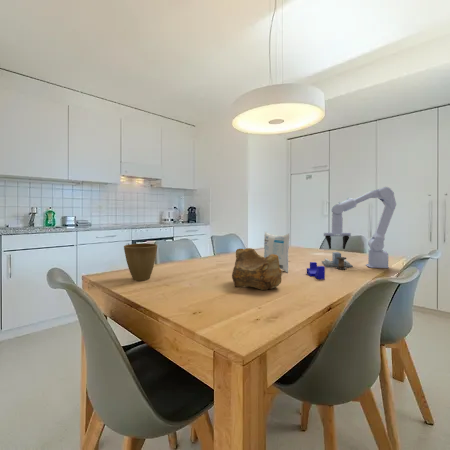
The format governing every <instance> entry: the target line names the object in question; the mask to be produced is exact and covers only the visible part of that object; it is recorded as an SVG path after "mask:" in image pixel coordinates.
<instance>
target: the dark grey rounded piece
mask: <svg viewBox="0 0 450 450" xmlns="http://www.w3.org/2000/svg"><path fill="white" fill-rule="evenodd" d="M336 259H339V266H338V267H335V268H336V270H342V269H343V270H344V269H345V270H347V267H344V259H345V260H347V257H345V256H341V257H336ZM345 270H344V271H345Z"/></svg>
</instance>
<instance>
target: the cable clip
mask: <svg viewBox="0 0 450 450" xmlns="http://www.w3.org/2000/svg"><path fill="white" fill-rule="evenodd" d="M325 269H326V266H325V265H318V263H317V262H316V261H310V262H309V267H307V268H306V275H308V276H309V277H314V278H316V279H317V280H318V279H319V280H325V278H326V277H325V276H326V270H325Z"/></svg>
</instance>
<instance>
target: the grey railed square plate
mask: <svg viewBox="0 0 450 450" xmlns="http://www.w3.org/2000/svg"><path fill="white" fill-rule="evenodd" d="M321 263H322V265H323V266H324V267H325V268H336V267H338V266H339V264H334V263H333V262H332V260H329V258H324V260H321ZM344 267H346V268H351V267H354V265H352V264H351V263H350V261H348V260H347V259H344Z"/></svg>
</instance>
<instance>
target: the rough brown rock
mask: <svg viewBox="0 0 450 450" xmlns="http://www.w3.org/2000/svg"><path fill="white" fill-rule="evenodd" d="M231 278H232V281H233V284H234V286H235V288H243V287H251V288H254V289H258V290H261V291H267V290H271V289H274V288H277V287H279V286H280V285H281V283H282V269H280V267H279V258H278V256H277V255H275V254H271V255H269V256H267V257H266V258H264V256H262V255H260V254H258V252H257V251H256V250H255V248H251V247H250V248H249V247H248V248H237V249H236V250H235V262H234V267H233V268H232V273H231Z"/></svg>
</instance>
